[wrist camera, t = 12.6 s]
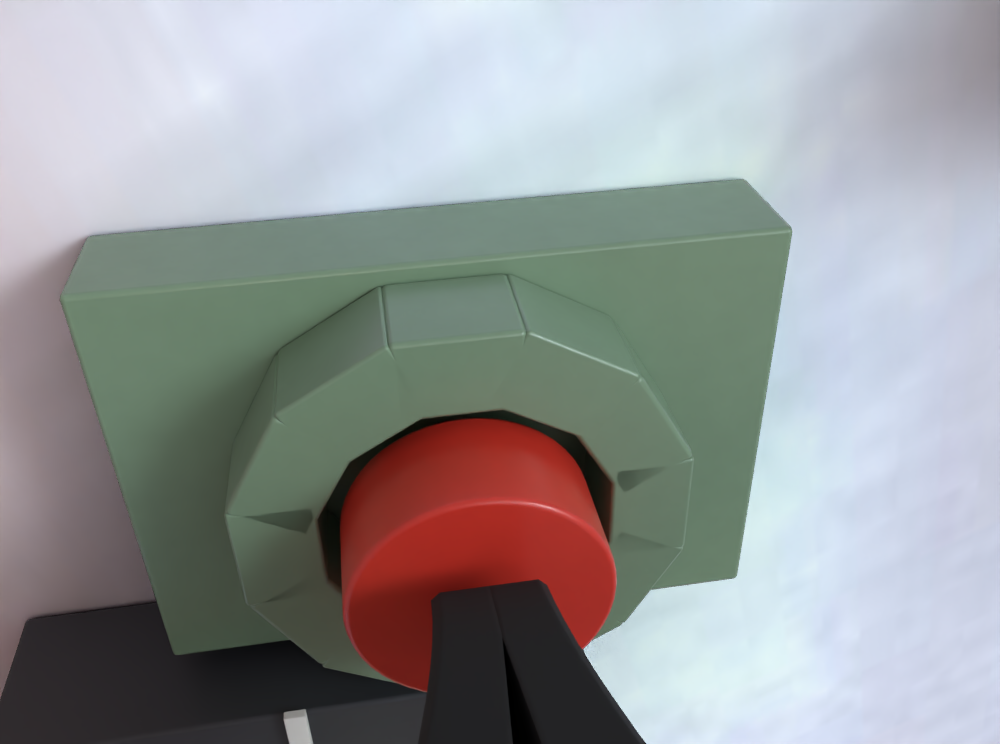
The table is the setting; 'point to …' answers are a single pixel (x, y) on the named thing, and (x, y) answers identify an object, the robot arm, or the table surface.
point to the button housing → (425, 382)
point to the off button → (466, 536)
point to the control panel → (187, 690)
